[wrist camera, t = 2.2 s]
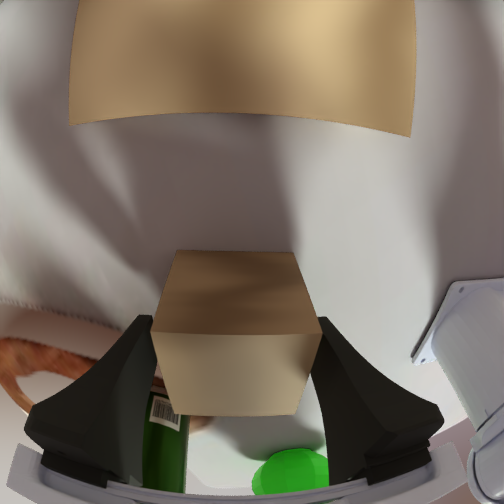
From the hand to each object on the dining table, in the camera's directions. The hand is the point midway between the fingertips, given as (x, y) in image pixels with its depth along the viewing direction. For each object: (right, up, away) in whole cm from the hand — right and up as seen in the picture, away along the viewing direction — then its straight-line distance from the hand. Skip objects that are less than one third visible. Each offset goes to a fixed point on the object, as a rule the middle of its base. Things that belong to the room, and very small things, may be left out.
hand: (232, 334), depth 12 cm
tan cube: (0, +1, +2) cm, 3 cm away
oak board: (+1, +14, -4) cm, 14 cm away
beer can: (-7, -8, +7) cm, 13 cm away
